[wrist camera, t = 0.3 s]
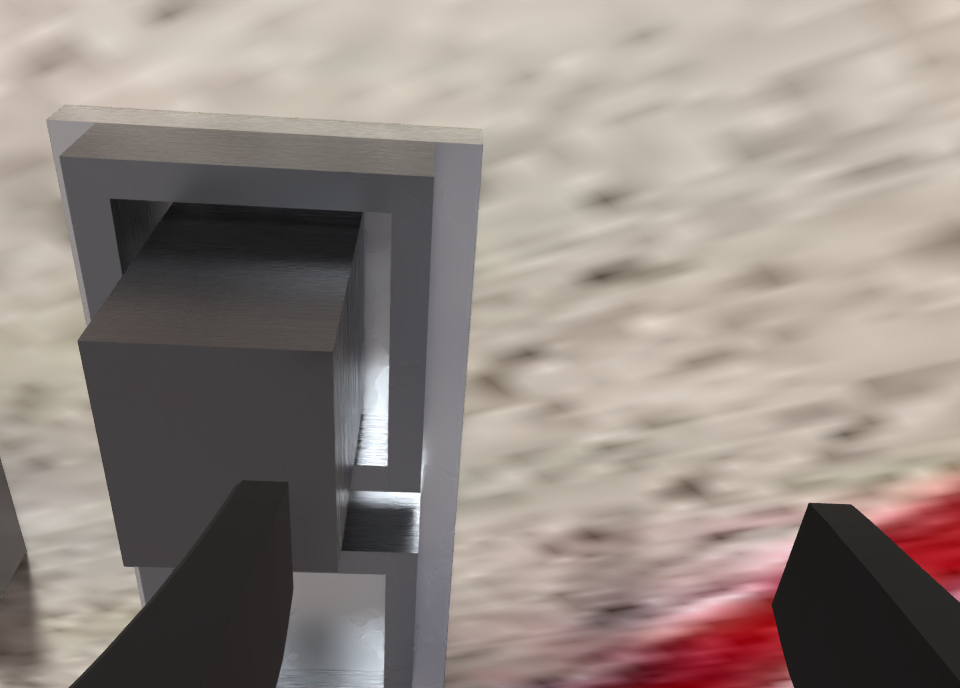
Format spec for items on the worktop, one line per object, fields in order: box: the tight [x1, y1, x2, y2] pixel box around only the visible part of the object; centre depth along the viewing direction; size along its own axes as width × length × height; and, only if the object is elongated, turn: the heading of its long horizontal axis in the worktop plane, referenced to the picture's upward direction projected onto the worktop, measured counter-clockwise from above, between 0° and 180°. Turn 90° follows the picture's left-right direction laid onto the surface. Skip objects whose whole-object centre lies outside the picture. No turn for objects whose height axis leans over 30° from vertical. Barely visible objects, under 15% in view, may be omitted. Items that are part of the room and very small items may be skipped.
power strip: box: [46, 105, 483, 688], centre depth 21 cm, size 20×9×7 cm, turn 176°
